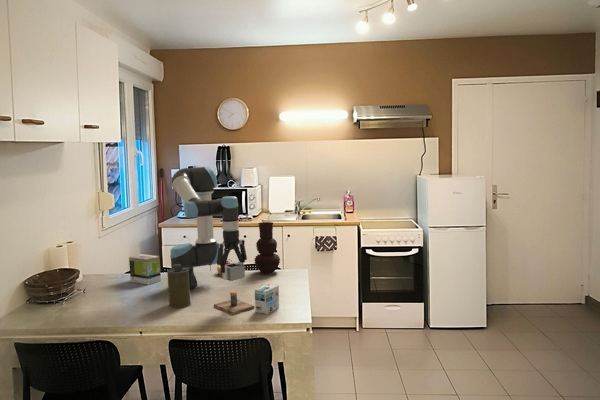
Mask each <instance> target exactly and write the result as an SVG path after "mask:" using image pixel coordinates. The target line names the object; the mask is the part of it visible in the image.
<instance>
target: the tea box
mask: <svg viewBox="0 0 600 400" xmlns="http://www.w3.org/2000/svg"><path fill="white" fill-rule="evenodd" d="M128 260H129V261H128V262H129V278H130V282H131V283H136V284H142V285H148V286H149V285H151V284H152V285H153V284H155V283H159V282H161V280H162V278H161V261H160V255H153V254H152V255H151V254H145V253H140V254H136V255H132V256H129V257H128Z"/></svg>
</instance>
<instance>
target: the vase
mask: <svg viewBox="0 0 600 400" xmlns="http://www.w3.org/2000/svg"><path fill="white" fill-rule="evenodd" d="M257 225H258V231H259V233H258V234H259V239H258V240H257V241H256V243H255V245H256V246H255V247H256V250H257V253H258V254H257V255H256V256H255V257H254V258H253V261H254V262H253V263H254V265H255V267H256V268H257V270H258V271H259V272H260V274H262V275H272V274H274V273H275V272H276V270H277V268H278V267H279V265H280V261H281V259H280V256H279V254H276V251H277V248H278V243H277V240H276V239H275V238H273V234H274V233H273V231H274V226H273V225H274V222H273V221H262V222H258V223H257Z"/></svg>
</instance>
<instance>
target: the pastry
mask: <svg viewBox="0 0 600 400" xmlns="http://www.w3.org/2000/svg"><path fill="white" fill-rule="evenodd" d="M230 261H231V262H230ZM230 263H233V261H232V260H231V259H230V258H229V259H228V258H227V261H226V264H230ZM226 264H225V265H226ZM216 271H217V273H218V274H219V275H220V276H221V266H220V265H217V267H216Z"/></svg>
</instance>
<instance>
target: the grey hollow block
mask: <svg viewBox="0 0 600 400" xmlns="http://www.w3.org/2000/svg"><path fill="white" fill-rule="evenodd" d="M225 266H227V280H226V281H229V282H234V281H237V280H241V279H245V278H246V276H245V275H246V272H245V265H242V264H238V262H230V264H226V265H225ZM220 278H221V279H222V280H224V279H223V273H222V272H221V275H220Z"/></svg>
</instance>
